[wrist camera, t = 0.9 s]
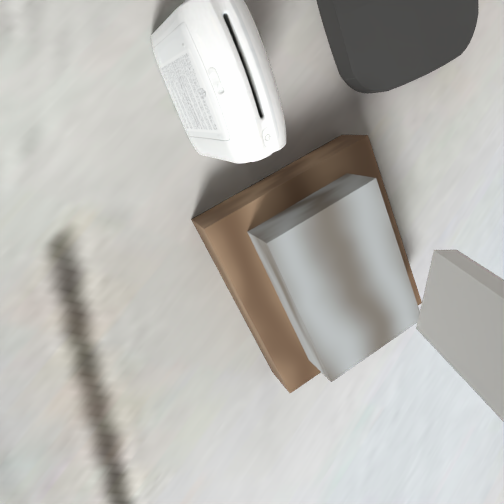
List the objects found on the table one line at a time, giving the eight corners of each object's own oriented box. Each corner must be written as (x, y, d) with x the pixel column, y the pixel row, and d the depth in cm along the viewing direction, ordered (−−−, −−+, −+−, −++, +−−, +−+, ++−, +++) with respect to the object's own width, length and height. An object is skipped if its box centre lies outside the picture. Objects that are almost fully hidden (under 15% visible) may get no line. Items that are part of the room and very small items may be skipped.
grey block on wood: (272, 372, 45) (310, 418, 38) (191, 219, 38) (219, 240, 30) (395, 289, 48) (452, 318, 41) (342, 134, 41) (399, 136, 34)
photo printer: (241, 142, 38) (311, 148, 26) (195, 162, 37) (249, 177, 26) (192, 13, 34) (251, -44, 23) (140, 32, 33) (175, -17, 22)
